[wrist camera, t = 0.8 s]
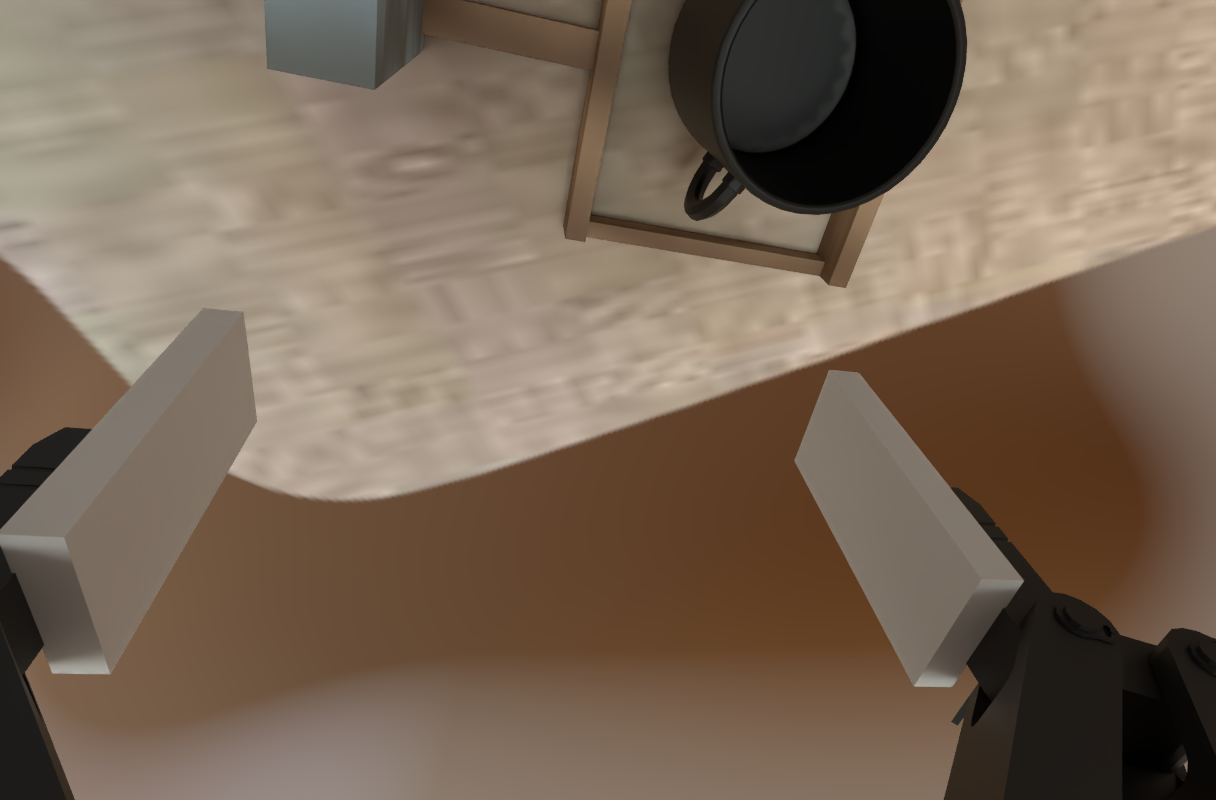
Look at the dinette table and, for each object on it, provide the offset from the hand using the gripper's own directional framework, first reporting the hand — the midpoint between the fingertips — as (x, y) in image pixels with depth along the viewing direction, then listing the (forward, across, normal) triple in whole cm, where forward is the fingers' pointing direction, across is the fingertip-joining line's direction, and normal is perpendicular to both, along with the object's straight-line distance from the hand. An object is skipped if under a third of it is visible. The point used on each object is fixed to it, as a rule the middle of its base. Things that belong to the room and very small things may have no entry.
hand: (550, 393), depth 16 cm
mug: (+22, +10, +5) cm, 24 cm away
